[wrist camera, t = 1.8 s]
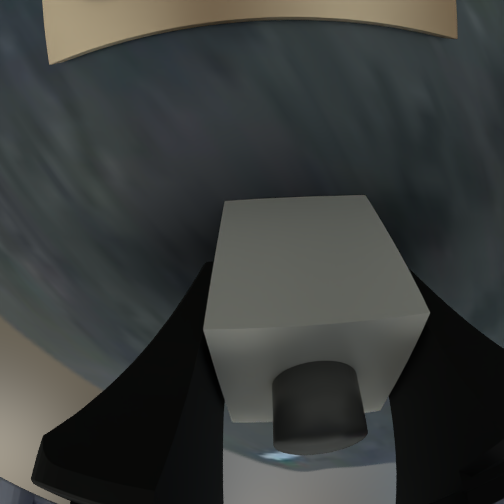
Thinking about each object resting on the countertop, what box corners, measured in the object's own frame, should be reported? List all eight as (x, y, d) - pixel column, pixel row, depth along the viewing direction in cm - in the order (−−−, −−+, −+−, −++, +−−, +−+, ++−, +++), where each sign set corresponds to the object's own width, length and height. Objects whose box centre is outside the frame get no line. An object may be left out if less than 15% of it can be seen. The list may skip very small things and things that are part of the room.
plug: (365, 194, 9) (456, 374, 4) (350, 296, 12) (388, 454, 7) (224, 201, 10) (193, 401, 4) (238, 302, 12) (230, 468, 7)
